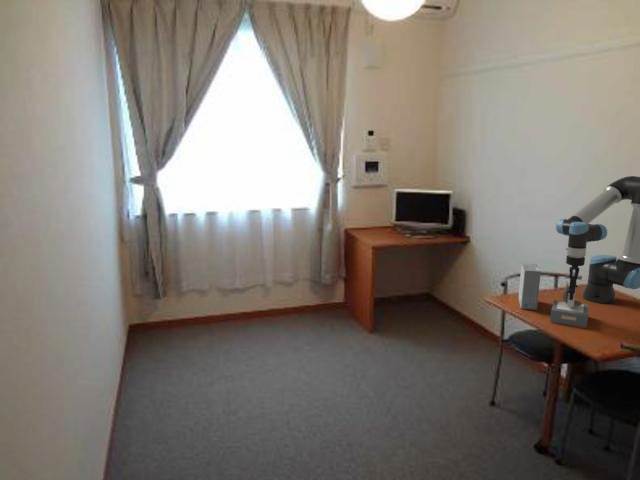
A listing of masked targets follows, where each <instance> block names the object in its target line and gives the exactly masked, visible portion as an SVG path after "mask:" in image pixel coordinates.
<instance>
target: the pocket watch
mask: <svg viewBox="0 0 640 480" xmlns="http://www.w3.org/2000/svg"><path fill="white" fill-rule="evenodd" d="M565 283H566V284H565V286H566V287H565V288H564V290H563V293H562V299H563V301H564V302H566V304H567V302H568V293H567V291H569V282H565ZM582 304H583V303H582V302H580V301H578V300H576V299H575V300H574V306H581V305H582Z"/></svg>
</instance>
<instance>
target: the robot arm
mask: <svg viewBox="0 0 640 480" xmlns="http://www.w3.org/2000/svg"><path fill="white" fill-rule="evenodd" d="M623 200H629V201H631V202H630V205H631V206H632V208H633V209H632V212H631V217H630V221H629V224H628V228H627V234H626V238H625V242H624V246H623V250H622V255H621V256H618V257H617V256H615V255H608V254H607V255H606V254H600V255H599V254H598V255H597V254H596V255H593V256H591V258H590V261H589V267H588V268H589V269H588V277H587V278H588V279H587V283H586V286H585V288H584V290H583V291H582V298H583V299H584V300H586V301H590V302H594V303H596V304H597V303H598V304H612V303H615V302H616V294H615V288H614V285H618V286H620V287H624V288H625V289H631V290H637V289H640V176H636V175H635V176H633V175H631V176H630V175H629V176H625V177H622V178H619V179H617V180H615V181H613V182H611V183H610V184H608V185H606V187H605V188H603V191H602V192H601V193H600V194H599V195H597V196H596V197H594V198H593V199H592V200H591V201H590V202H589V203H586V205H585V206H583V207H582V208H580V209H579V210H578V211H577V212H575V213H574V214H572V216H569V218H568V219H567V218H561V219H559V220H557V223H556V225H555V230H556V232H557V233H558V234H561V235H564V236H566V237H568V239H567V241H568V242H567V243H568V244H567V247H566V248H565V250H566V251H567V252H566V260H565V264H566V265H569V277H568V278H569V284H568V287H569V291H567V293H568V302H567V306H572V307H574V300H575V301H576V291H577V288H578V285H577V279H578V278H579V273H580V267H582V266H584V265H585V263H586V262H585V261H586V256H587V255H586V254H587V244H588V243H591V242H598V241H602V240H604V239H606V237H607V235H608V229H607V227H606V226H605V225H604V224H601V223H599V224H598V223H596V224H591V222H593V220H595V219H596V218H598V217H599V216H600V215H601V214H603V213H605V211H607V210H608V209H609V208H611V206H613V205H614V204H619V203H620V202H621V201H623Z"/></svg>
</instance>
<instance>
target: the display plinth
mask: <svg viewBox="0 0 640 480" xmlns="http://www.w3.org/2000/svg"><path fill="white" fill-rule="evenodd" d="M589 306H590V305H589V304H584V303H582V305H581V306H574V307H572V306H567V304H566V302H565V301H564V300H563V301H562V300H556V299H554V300H553V302H552V307H551V309H550V320H549V321H550V323H553V324H560V325H566V326H573V327H578V328H585V329H587V326H588V318H589Z"/></svg>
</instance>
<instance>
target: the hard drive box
mask: <svg viewBox="0 0 640 480" xmlns="http://www.w3.org/2000/svg"><path fill="white" fill-rule="evenodd" d="M541 274H542V271H541V270H540V268H539V266H538V264H537V263H530V262H529V263H527V262H521V266H520V277H519V287H518V288H519V289H518V301H519V306H520V309H523V310H535V311H537V310H538V303H539V293H540V283H541Z"/></svg>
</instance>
